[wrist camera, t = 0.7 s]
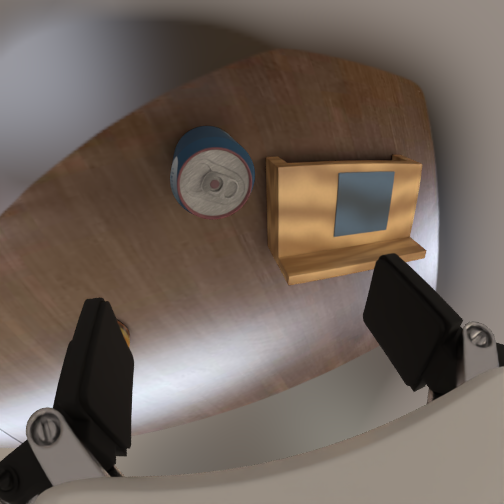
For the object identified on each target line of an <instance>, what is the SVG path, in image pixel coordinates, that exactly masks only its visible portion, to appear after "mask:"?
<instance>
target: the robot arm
mask: <svg viewBox="0 0 504 504" xmlns="http://www.w3.org/2000/svg"><path fill="white" fill-rule="evenodd" d="M363 320H364V322H365V324H366V326H367V327H368V329H369V330H370V331H371V333H372V334H373V336H374V337H375V339H376V340H377V342H378V343H379V345H380V346H381V347H382V349H383V350H384V352H385V353H386V355H387V356H388V358H389V359H390V361H391V362H392V364H393V365H394V367H395V368H396V370H397V372H398V373H399V375H400V376H401V378H402V379H403V381H404V382H405V384H406V385H408V386H410V387H411V388H412V390H413V391H414V392H415V391H417V390H419V389H421V388H423V387H425V385H426V384H427V386H428V387H429V392H428V400H427V404H426V405H424V406H422V407H421V408H418V409H416V410H415V411H413V412H410V413H408V414H406V415H404V416H402V417H400V418H398V419H396V420H393V421H391V422H389V423H387V424H384V425H382V426H380V427H377V428H375V429H372V430H370V431H368V432H365V433H362V434H360V435H357V436H355V437H352V438H349V439H347V440H344V441H341V442H338V443H335V444H332V445H329V446H326V447H323V448H319V449H316V450H313V451H310V452H306V453H302V454H299V455H295V456H291V457H287V458H283V459H279V460H275V461H270V462H266V463H261V464H256V465H251V466H246V467H240V468H234V469H227V470H220V471H213V472H204V473H194V474H183V475H171V476H149V477H148V476H146V477H125V476H124V475H123V474H122V473H121V472H120V471H119V469H118V468H117V467H116V466H115V464H116V456H127V452H126V451H127V450H126V449H127V448H130V447H131V412H132V388H133V372H134V359H133V355H132V353H131V351H130V349H129V347H128V344H127V342H126V340H125V338H124V336H123V333H122V331H121V329H120V327H119V324H118V322H117V320H116V317H115V315H114V312H113V310H112V307H111V305H110V303H109V302H108V301H106V302H105V301H104V299H103V298H93V299H87V300H85V302H84V305H83V308H82V311H81V314H80V317H79V320H78V323H77V327H76V330H75V333H74V336H73V340H71V341H70V343H69V345H68V348H67V352H66V355H65V359H64V363H63V366H62V370H61V374H60V378H59V382H58V387H57V391H56V396H55V400H54V405H53V408H41V409H39V410H37V411H36V412H35V413H33V414H32V415H31V417H30V418H29V420H28V422H27V426H26V436H27V440H26V441H25V442H23V443H22V444H21V445H20V446H19V447H17V448H16V449H15V450H14V451H13V452H11V453H10V454H9V455H8V456H6V457H5V458H4V459H3V460H2V461H1V462H0V504H504V345H503V344H499V343H496V341H495V337H494V334H493V333H492V331H491V330H490V329H489V328H488V327H487V326H485V325H484V324H482V323H479V322H469V323H467V324H465V326H464V328H463V329H462V328H461V327H460V325H461V323H462V321H463V320H462V318H461V317H460V316H459V315H458V314H457V313H456V312H455V311H454V310H453V309H452V308H451V307H450V306H449V305H448V304H447V303H446V302H445V301H444V300H443V299H442V298H441V297H440V295H439V294H438V293H437V292H436V291H435V290H434V289H433V288H432V287H431V286H430V285H429V284H428V283H427V282H426V281H425V280H424V279H422V278H421V277H420V276H419V275H418V274H417V273H416V272H415V271H414V270H413V269H412V268H411V267H410V266H409V265H408V264H407V263H406V262H405V261H404V260H402V259H401V258H400V257H399V256H398V255H397V254H395V253H391V254H385V255H381V256H380V257H379V259H378V260H377V261H376V263H375V267H374V272H373V276H372V281H371V285H370V289H369V293H368V297H367V301H366V305H365V309H364V313H363Z"/></svg>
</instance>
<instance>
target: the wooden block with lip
mask: <svg viewBox="0 0 504 504" xmlns="http://www.w3.org/2000/svg"><path fill="white" fill-rule="evenodd" d="M421 171H422V164H421V163H418V162H416V161H414V160H412V159H409V158H407V157H404V156H402V155H395V154H393V155H392V161H386V160H358V161H319V162H299V163H286V162H285V161H284V160H282V159H281V158H279V157H278V156H277V157H266V183H267V233H268V247H269V249H270V251H271V253H272V255H273V257H274V259H275V260H276V262H277V264H278V266H279V268H280V270H281V272H282V274H283V276H284V278H285V279H286V281H287V283H288V285H294V284H299V283H305V282H310V281H316V280H321V279H326V278H331V277H337V276H342V275H347V274H352V273H357V272H362V271H367V270H372V269H374V267H375V263H376V261H377V260H378V259H379V257H380V256H381V255H385V254H391V253H395V254H397V255H398V256H399V257H400V258H401V259H402V260H404V261H405V262H409V261H413V260H418V259H422V258H425V254H426V250H425V249H424V248H423V247H421V246H420V245H419V244H418V243H417V242H415V241H414V240H413V239H412V238H410V233H411V228H412V223H413V218H414V213H415V208H416V203H417V197H418V191H419V184H420V178H421Z"/></svg>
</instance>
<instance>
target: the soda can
mask: <svg viewBox="0 0 504 504" xmlns="http://www.w3.org/2000/svg"><path fill="white" fill-rule="evenodd" d="M254 181H255V170H254V165H253V162H252V160H251V158H250V156H249V154H248V153H247V152H246V151H245V149H244V148H243V147H241V146H240V145H239V144H238V143H237V142H236V141H235V140H234V139H233V138H232V137H231V136H230V135H229V134H228V133H226V132H225V131H223V130H222V129H220V128H217V127H213V126H201V127H197V128H194V129H192V130H190V131H188V132H187V133H186V134H185V135H184V136H183V137H182V138H181V139H180V140H179V142H178V144H177V146H176V148H175V152H174V157H173V163H172V168H171V174H170V184H171V189H172V192H173V195H174V197H175V198H176V200H177V201H178V203H179V204H180V205H181V206H182V207H183V208H184V209H185V210H187V211H188V212H190V213H192V214H194V215H196V216H198V217H201V218H205V219H221V218H225V217H228V216H230V215H232V214H234V213H235V212H237V211H238V210H239V209H240V208H241V207H242V206H243V205H244V204H245V203H246V201H247V200H248V198H249V196H250V194H251V192H252V189H253V186H254Z"/></svg>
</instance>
